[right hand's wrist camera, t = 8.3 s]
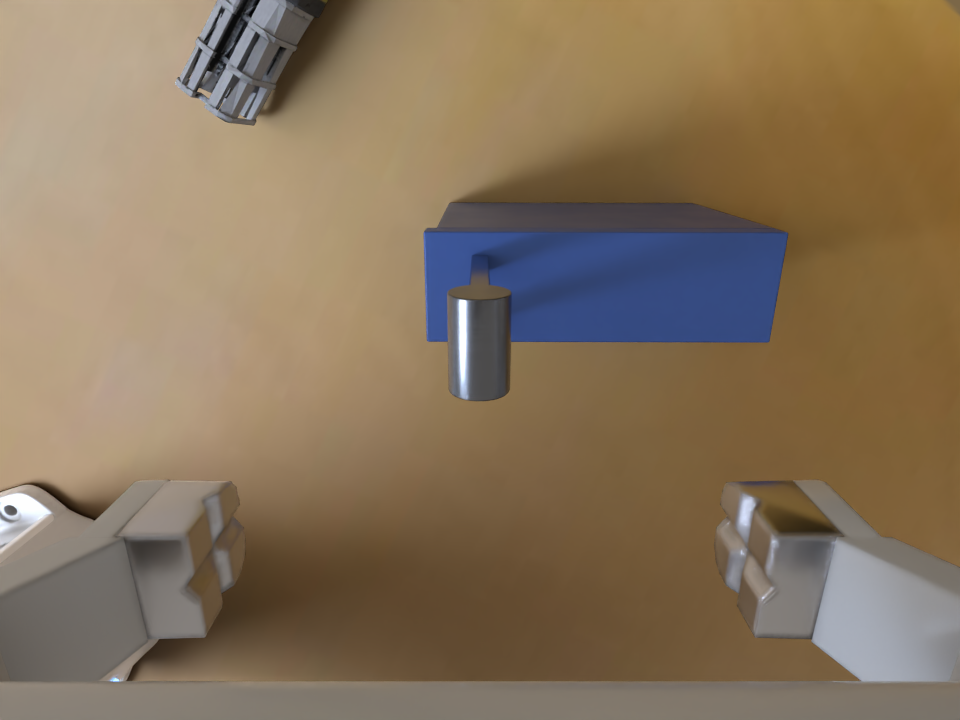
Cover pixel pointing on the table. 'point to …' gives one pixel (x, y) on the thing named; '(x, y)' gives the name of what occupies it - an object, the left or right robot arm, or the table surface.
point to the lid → (592, 291)
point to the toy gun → (245, 53)
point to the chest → (590, 216)
